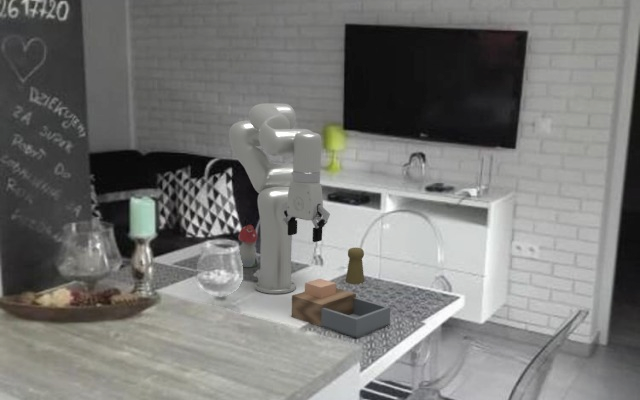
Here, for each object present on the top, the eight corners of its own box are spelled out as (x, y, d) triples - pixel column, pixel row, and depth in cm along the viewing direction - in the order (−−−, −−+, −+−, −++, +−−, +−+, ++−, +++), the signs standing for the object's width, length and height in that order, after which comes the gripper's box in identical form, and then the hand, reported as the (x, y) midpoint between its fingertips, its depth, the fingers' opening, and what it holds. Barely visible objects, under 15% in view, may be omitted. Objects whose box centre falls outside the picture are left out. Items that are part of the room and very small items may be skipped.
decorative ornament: (255, 269, 243) (255, 225, 240) (236, 268, 243) (236, 225, 240) (258, 262, 252) (259, 220, 249) (240, 261, 252) (240, 219, 250)
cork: (362, 284, 227) (364, 251, 226) (344, 283, 229) (345, 249, 227) (365, 279, 233) (366, 246, 231) (347, 278, 234) (348, 245, 233)
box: (321, 326, 189) (321, 308, 188) (355, 314, 199) (355, 297, 198) (356, 338, 181) (356, 319, 180) (389, 325, 191) (390, 307, 190)
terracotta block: (304, 293, 197) (305, 282, 197) (319, 288, 202) (319, 278, 201) (320, 298, 193) (321, 287, 193) (335, 293, 198) (335, 283, 197)
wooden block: (291, 316, 196) (292, 295, 195) (325, 305, 206) (326, 285, 205) (321, 326, 189) (321, 304, 188) (355, 314, 199) (355, 293, 198)
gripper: (274, 174, 200) (273, 234, 203) (320, 183, 188) (317, 246, 191) (293, 172, 205) (292, 230, 208) (339, 180, 194) (336, 241, 197)
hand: (304, 237), depth 200 cm, fingers open, 9 cm apart
